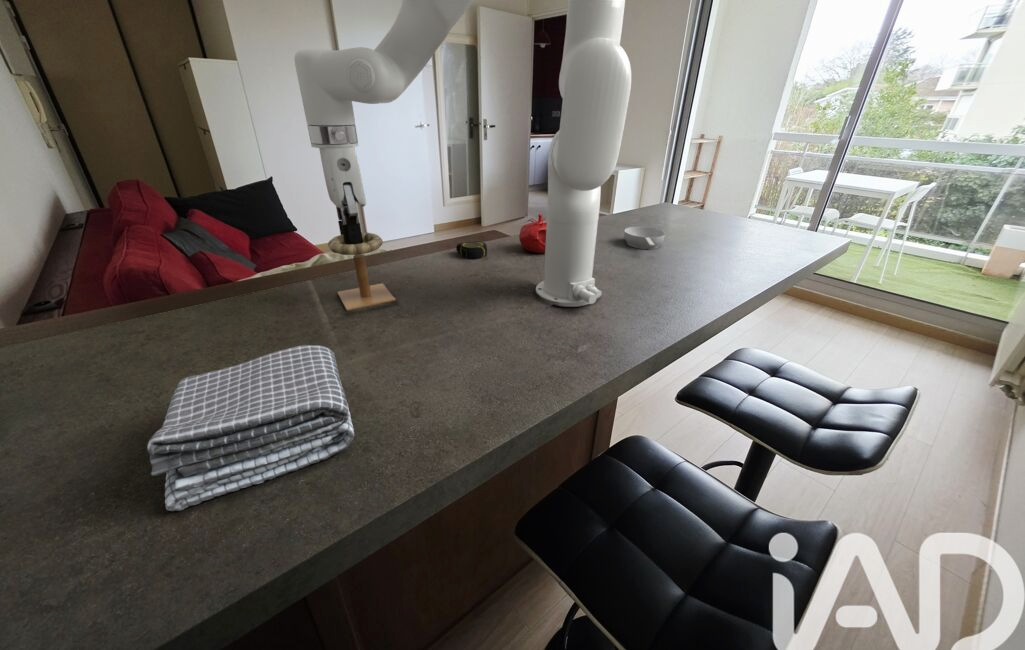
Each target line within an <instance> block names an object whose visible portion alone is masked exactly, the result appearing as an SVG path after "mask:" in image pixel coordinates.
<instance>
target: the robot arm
mask: <svg viewBox="0 0 1025 650" xmlns="http://www.w3.org/2000/svg"><path fill="white" fill-rule="evenodd" d="M475 1H476V0H401V4H400V9H399V11H398V14H397V15H396V18H395V20H394V22H393V24H392V25H391V27H390V28H389V30H388V31H387V33H386V34H385V36H384V37H382V39H381V41H380V42H379V44H377V46H376V47H375V49H372V48H368V47H363V46H360V47H350V48H344V49H337V50H332V49H323V48H303V49H298V50H297V51H296V52H295V54H294V59H293V60H294V66H295V69H296V70H295V72H296V76H297V82H298V87H299V91H300V97H301V101H302V106H303V111H304V115H305V120H306V126H307V130H308V136H309V141H310V146H311V148H317V149H318V150H319V155H320V161H321V167H322V172H323V176H324V181H325V185H326V186H325V187H326V190H327V194H328V197H329V200H330V201H331V203H333V205H334V206H335V208H336V213H337V219H338V221H337V222H338V227H339V233H340V235H342V234H343V237H344V242H345V244H361V243H364V242H363V239H362V227H361V222H360V218H359V217H360V216H359V212H358V205H360V207H362V208H364V207H365V206H366V205H367V200H366V194H365V190H364V184H363V179H362V174H361V168H360V165H359V160H358V156H357V153H356V149H355V148H357V147H359V138H358V133H357V126H356V119H355V113H354V105H353V102H355V103H361V104H368V105H379V104H389V103H392V102H395V101H396V100H398V98H399V97H401V95H402V94H403V93H404V92H405V91H406V90H407V89H408V88H409V86H410V85H411V84H412V83H413V82H414V81H415V79H416V78H417V77H418V76H419V75H420V73H421V72H422V71H423V70H424V68H425V67H426V66H427V64H428V63H429V62H430V60H431V59H432V57H433V56H434V54H435V53H436V52H437V50H438V49H439V48H440V46H441V45H442V44H443V42H445V39H446V38H447V37H448V35H449V34H450V31H452V29H453V28H454V26H455V25H456V24H457V23H458V21H459V20H460V19H461V18H462V16H463V15H464V14H465V13H466V12H467V10H468V9H469V8H470V7H471V6H472V4H473V3H474V2H475ZM625 6H626V0H567V11H566V23H565V36H564V44H563V50H562V51H563V53H562V60H561V66H560V71H559V77H558V89H559V92H560V93H559V94H560V96H561V98H562V103H561V114H560V122H559V130H558V131H556V133H554V136H553V138H552V140H551V142H550V145H549V148H548V156H547V211H546V213H547V214H546V222H547V225H546V246H545V253H544V268H543V269H544V270H543V272H544V273H543V280H542V281H540V282H538V284H537V285H536V287H535V292H536V294H537V295H538V296H539V297H541V298H542V299H544V300H545V301H548V302H551V303H552V302H553V303H554V304H553V306H558V307H565V308H573V307H574V308H576V307H584V306H588V305H593V304H595V303H596V301H597V300H598V299H599V298H601V297H602V294H603V292H602V290H600V289H598V287H596V286H595V285H596V278H594V277H593V273H594V271H593V270H594V262H595V252H596V244H597V234H598V223H599V217H600V207H601V192H602V191H601V190H602V186H603V185H604V184H606V182H607V181H608V180H609V179H610V177H611V176H612V174H613V173H614V171H615V168H616V166H617V163H618V161H619V155H620V150H621V145H622V141H623V137H624V136H623V135H624V131H625V130H624V129H625V125H626V119H627V114H628V107H629V102H630V98H631V97H630V96H631V91H632V67H631V62H630V58H629V56H628V54H627V52H626V51H625V49H624V48H623V47H622V46H621V38H622V33H623V24H624V23H623V22H624V15H625Z"/></svg>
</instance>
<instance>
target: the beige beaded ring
mask: <svg viewBox="0 0 1025 650" xmlns="http://www.w3.org/2000/svg"><path fill="white" fill-rule="evenodd" d="M361 232H362V231H361ZM362 239H363V243H361V244H345V242H344V237H343V234H342V235H341V234H340V235H337V236H334V237H333V238H331V239H330V240H329V241H328V242H327V246H328V248H329V250H330V251H331V252H332V253H334V254H338V255H341V256H343V255H344V256H354V255H358V254H363V255H365V254H369V253H372V252H375V251H377V250H379V249H380V248H381V246H383V243H384V242H383V238H381V236H380V235H378V234H376V233H372V232H362Z"/></svg>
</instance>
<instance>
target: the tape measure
mask: <svg viewBox="0 0 1025 650" xmlns="http://www.w3.org/2000/svg"><path fill="white" fill-rule="evenodd" d="M455 249H456V250H455V251H456V253H457V254H458V255H459V256H461V258H463V259H466V260H479V259H483V258H485V257H487V256H488V245H487V243H486V242H484V241H477V240H474V241H473V240H472V241H465V242H459V243H457V244H456V246H455Z"/></svg>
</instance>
